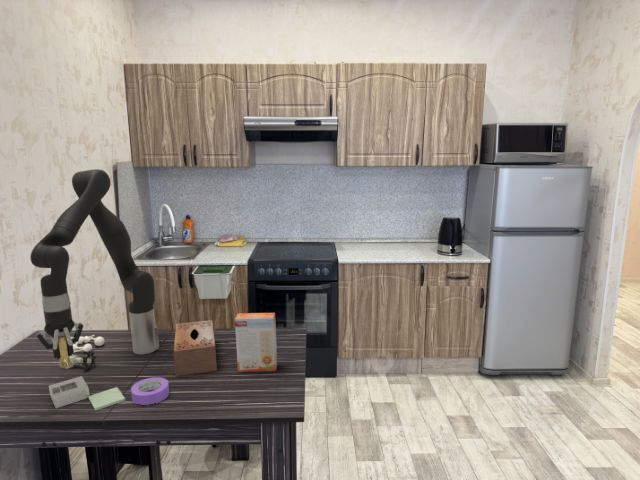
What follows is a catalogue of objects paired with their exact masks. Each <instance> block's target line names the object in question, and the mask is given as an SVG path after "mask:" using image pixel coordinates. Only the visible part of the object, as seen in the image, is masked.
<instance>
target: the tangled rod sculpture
mask: <svg viewBox="0 0 640 480" xmlns="http://www.w3.org/2000/svg"><path fill="white" fill-rule="evenodd" d="M73 337H74V336H71V339H72V338H73ZM91 340H93V341H94V345H95V346H98V347H100V346H101V347H102V345H104V344H105V338H104V337H103V336H97V337H95V334H92V335H90V336H88V335H85V336H82V335H80V338H79V341H78V342H75V343H74V344H73V350H74V353H77V352H81V351H83V352H86V353H87V352H89V353H90V352H92V350H93V345H92V344H91V343H89V342H91ZM83 343H85V344H84V345H83V346H80V345H82V344H83Z"/></svg>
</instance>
